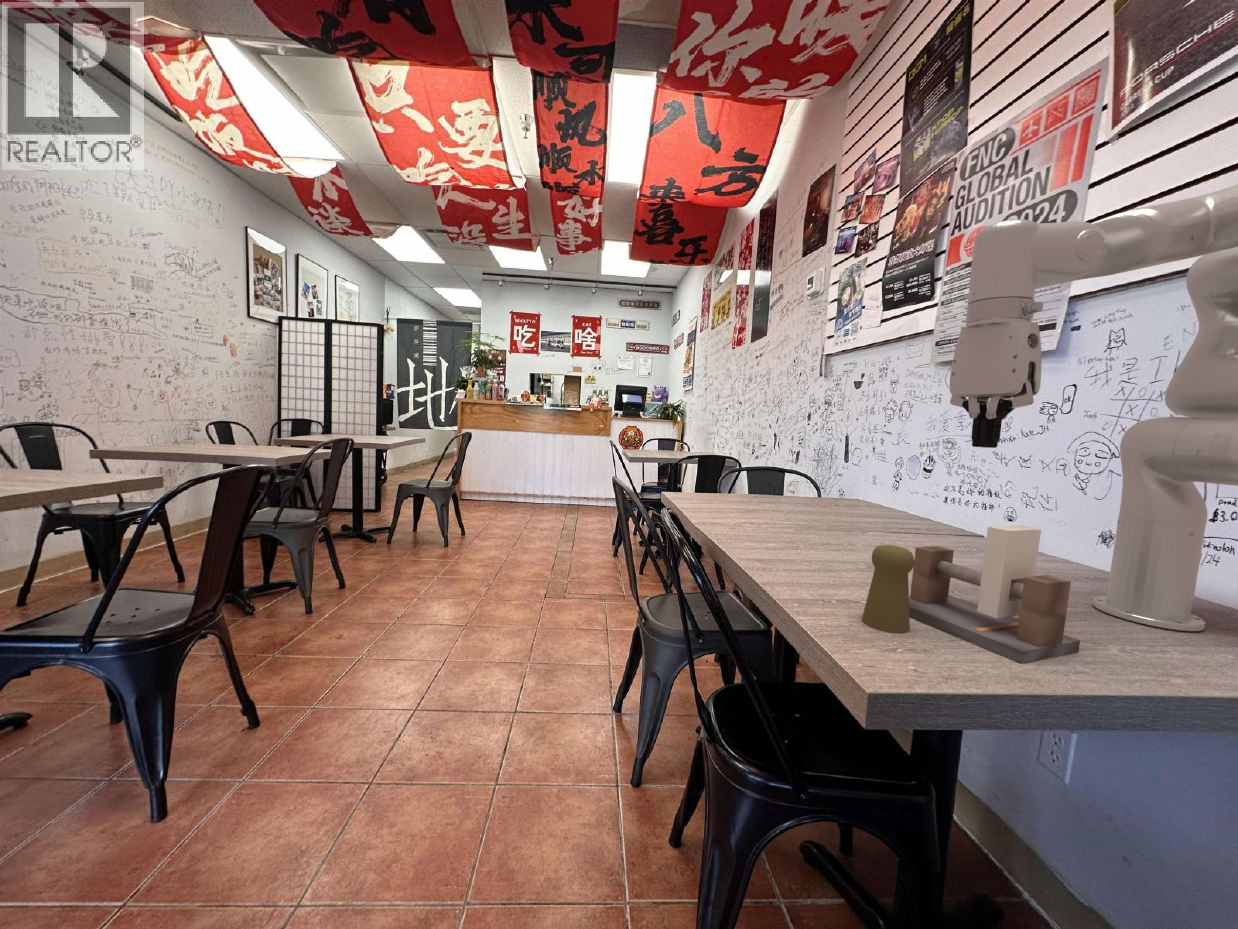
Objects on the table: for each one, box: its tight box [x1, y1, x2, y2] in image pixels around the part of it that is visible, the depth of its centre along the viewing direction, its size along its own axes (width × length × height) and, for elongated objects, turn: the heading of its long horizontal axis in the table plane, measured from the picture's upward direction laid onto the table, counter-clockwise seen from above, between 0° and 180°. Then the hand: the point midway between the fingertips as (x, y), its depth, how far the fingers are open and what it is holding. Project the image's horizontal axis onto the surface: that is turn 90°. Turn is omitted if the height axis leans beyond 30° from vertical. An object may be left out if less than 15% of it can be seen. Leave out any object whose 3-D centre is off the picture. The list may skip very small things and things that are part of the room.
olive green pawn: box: [861, 544, 915, 634], centre depth 72 cm, size 6×6×11 cm
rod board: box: [909, 545, 1081, 664], centre depth 73 cm, size 12×18×10 cm, turn 23°
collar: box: [977, 525, 1042, 618], centre depth 70 cm, size 7×2×12 cm, turn 113°
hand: (984, 446), depth 75 cm, fingers closed
